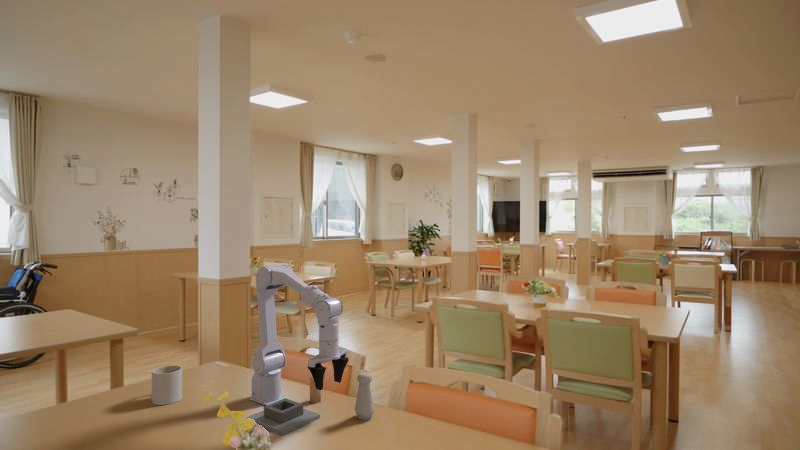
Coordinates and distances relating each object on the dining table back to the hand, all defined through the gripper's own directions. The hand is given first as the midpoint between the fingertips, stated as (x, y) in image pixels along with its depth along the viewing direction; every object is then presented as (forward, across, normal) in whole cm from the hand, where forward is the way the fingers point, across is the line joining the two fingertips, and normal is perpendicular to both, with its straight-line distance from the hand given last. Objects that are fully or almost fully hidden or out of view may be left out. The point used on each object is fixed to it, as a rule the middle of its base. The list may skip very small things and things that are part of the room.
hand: (328, 385), depth 134 cm
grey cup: (+10, -20, +54) cm, 59 cm away
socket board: (+10, -8, +11) cm, 17 cm away
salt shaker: (+10, +7, -8) cm, 15 cm away
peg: (+10, +7, +13) cm, 18 cm away
